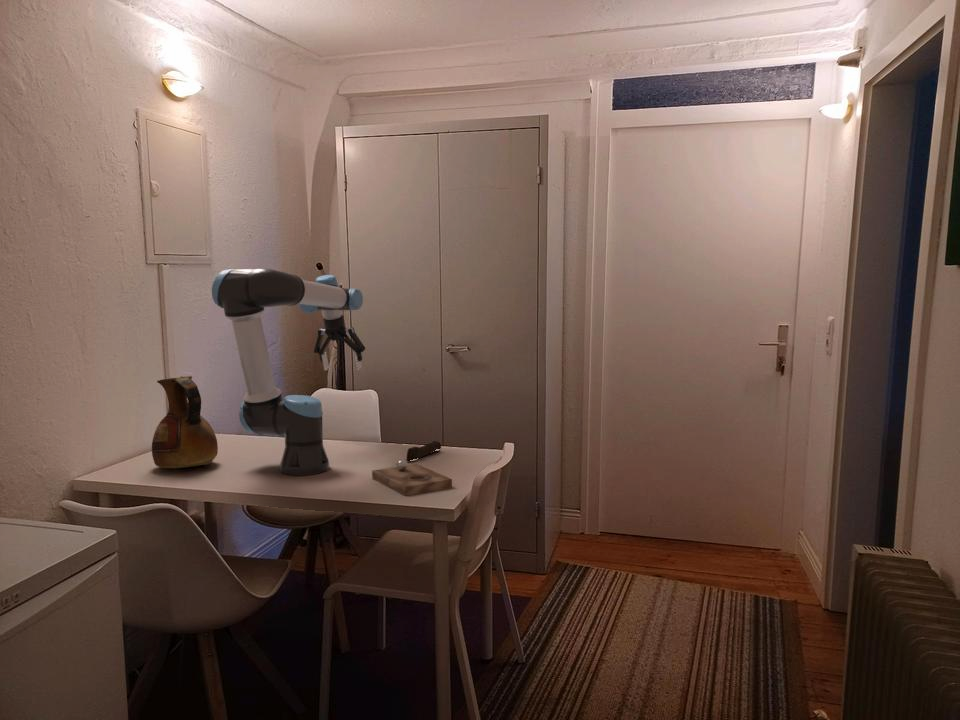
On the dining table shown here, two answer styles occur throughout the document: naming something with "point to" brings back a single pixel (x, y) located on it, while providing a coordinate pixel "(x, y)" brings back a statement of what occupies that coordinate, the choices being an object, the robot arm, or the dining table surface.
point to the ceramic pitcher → (183, 428)
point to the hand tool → (422, 450)
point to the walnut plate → (412, 479)
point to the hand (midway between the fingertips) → (343, 369)
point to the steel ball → (401, 465)
